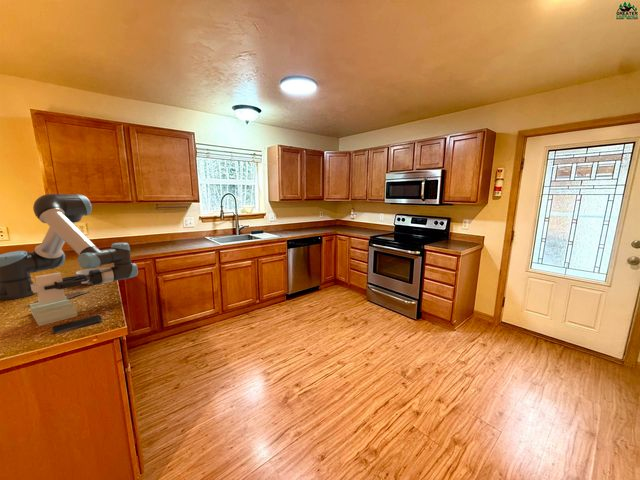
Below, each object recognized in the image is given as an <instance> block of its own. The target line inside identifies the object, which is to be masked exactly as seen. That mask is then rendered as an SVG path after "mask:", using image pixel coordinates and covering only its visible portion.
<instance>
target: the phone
mask: <svg viewBox="0 0 640 480" xmlns="http://www.w3.org/2000/svg"><path fill="white" fill-rule="evenodd" d="M102 322H103V319H102V317H101V315H99V314H97V315H93V316H88V317H86V318H81V319H77V320H76V319H75V320H73V321H69V322H64V323H60V324H57V325H56V324H55V325H53V326H52V328H51V329H52V335H57V334H63V333H66V332H69V331H74V330H77V329H81V328H85V327H88V326H92V325H97V324H100V323H102Z"/></svg>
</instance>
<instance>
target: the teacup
mask: <svg viewBox="0 0 640 480" xmlns="http://www.w3.org/2000/svg"><path fill="white" fill-rule="evenodd" d="M96 269H99V270H100V269H101V268H99V267H95V268H89V269H85V268H84V269H81V270H77V271H76V272H75V275H89V271H90V270H96ZM87 285H91V283H90V282H89V283H88V284H87Z"/></svg>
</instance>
